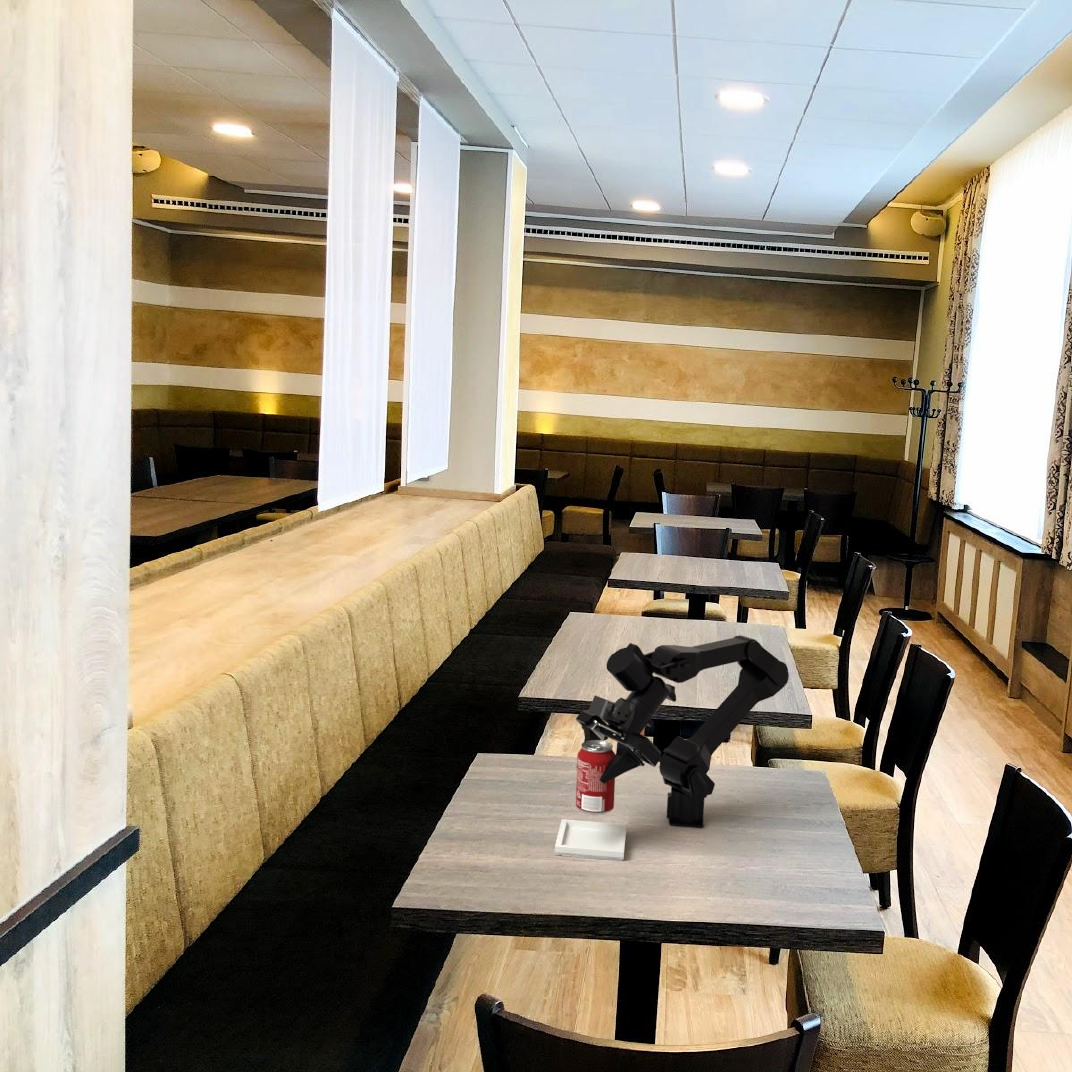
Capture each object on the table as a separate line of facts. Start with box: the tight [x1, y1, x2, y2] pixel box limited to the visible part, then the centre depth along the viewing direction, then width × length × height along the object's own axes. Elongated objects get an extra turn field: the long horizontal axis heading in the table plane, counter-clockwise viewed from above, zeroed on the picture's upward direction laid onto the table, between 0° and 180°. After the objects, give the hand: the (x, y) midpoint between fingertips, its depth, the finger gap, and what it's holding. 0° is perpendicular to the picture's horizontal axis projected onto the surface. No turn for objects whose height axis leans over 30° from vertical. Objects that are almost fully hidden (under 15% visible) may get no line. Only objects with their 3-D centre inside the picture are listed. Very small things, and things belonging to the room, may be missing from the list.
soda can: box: [575, 740, 616, 816], centre depth 196 cm, size 7×7×12 cm
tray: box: [554, 818, 628, 862], centre depth 198 cm, size 12×12×2 cm
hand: (589, 775), depth 195 cm, fingers closed on soda can, 7 cm apart
